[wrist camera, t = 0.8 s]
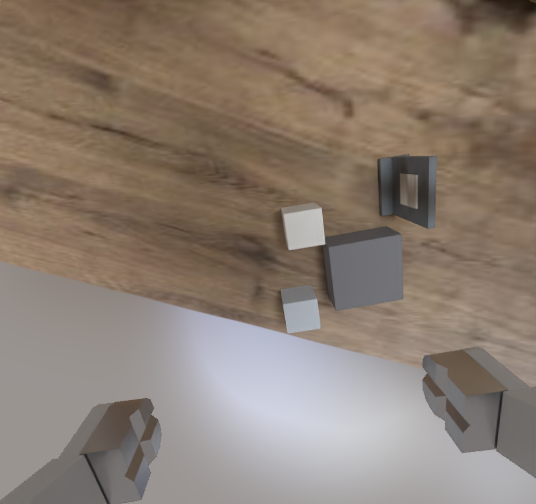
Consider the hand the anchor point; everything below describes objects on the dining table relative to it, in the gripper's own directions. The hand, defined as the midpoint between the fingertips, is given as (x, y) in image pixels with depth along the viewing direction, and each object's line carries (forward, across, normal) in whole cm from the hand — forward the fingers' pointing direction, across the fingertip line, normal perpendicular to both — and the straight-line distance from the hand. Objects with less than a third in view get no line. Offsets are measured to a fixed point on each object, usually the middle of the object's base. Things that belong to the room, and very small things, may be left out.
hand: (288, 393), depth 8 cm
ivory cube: (+35, -5, +3) cm, 35 cm away
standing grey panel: (+35, -19, 0) cm, 40 cm away
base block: (+35, -13, +10) cm, 39 cm away
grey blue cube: (+35, -3, +16) cm, 39 cm away
